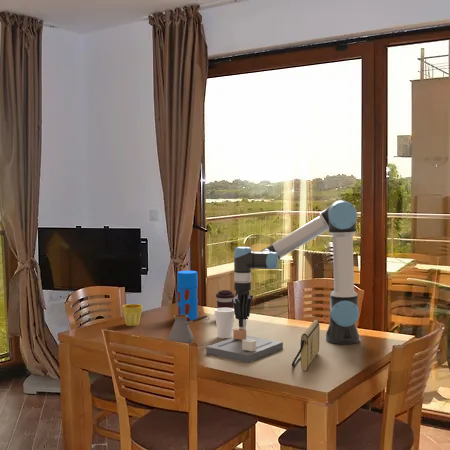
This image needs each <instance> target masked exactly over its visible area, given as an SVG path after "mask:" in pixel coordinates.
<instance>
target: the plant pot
mask: <svg viewBox="0 0 450 450" xmlns="http://www.w3.org/2000/svg"><path fill="white" fill-rule="evenodd" d="M143 307H144V306H143V304H140V303H128V304H123V305H122V307H121V309H122V311H121V313H122V314H123V318H124V321H125V326H127V327H128V326H129V327H135V326H139V325H140V320H141V315H142V313H143V310H144V309H143Z"/></svg>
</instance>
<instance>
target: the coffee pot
mask: <svg viewBox="0 0 450 450" xmlns="http://www.w3.org/2000/svg"><path fill="white" fill-rule="evenodd" d="M187 317H188V316H187V315H178V314H174V315H173V318H174V323H173V325H172V327H171V330H170V332H169V335H168V338H167V340H168V341H169V340H171V341H177V342H183V343H189V344H191V343H192V342H193V340H194V335H193V332H192V330H191V328H190V326H189V324H192V323H196V322H198V321H201V320H204V319H205V320H206V321H209V320H210V318H209V315H202V316H200V317H199V316H198V317H197V319H194V320H186V319H187ZM207 318H208V319H207Z"/></svg>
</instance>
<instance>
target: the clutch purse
mask: <svg viewBox="0 0 450 450" xmlns="http://www.w3.org/2000/svg"><path fill="white" fill-rule="evenodd" d="M320 331H321V330H320V321H319V320H318V319H317V318H316V319H314V320H313V321H312V323H311V324H310V325H309V326H308V327H307V328H306V330H305V331H304V333H302V334H301V336H300V349H299V350H298V352H297V354H296V356H295V357H294V358H293V360H292V364H291V367H296V365H297V364H298V363H299V362H300V367H301V370H302V372H306V371H307V370H308V369H309V366H310V365H311V363H312V361H313V360H314V359H315V357H316V356H317V354H318V353H319V351H320ZM299 356H300V357H299Z"/></svg>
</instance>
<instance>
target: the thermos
mask: <svg viewBox="0 0 450 450" xmlns="http://www.w3.org/2000/svg"><path fill="white" fill-rule="evenodd" d="M176 274H177V275H176V277H177V279H176V281H177V284H176V286H177V290H176V291H177V296H176V298H177V315H187V316H188V317H187V319H186V321H192V320H194V319H197V318H199V315H198V312H199V311H198V310H199V306H198V305H199V304H198V303H199V294H198V293H199V292H198V290H199V289H198V286H199V284H198V283H199V282H198V281H199V280H198V279H199V278H198V271H196V270H181V271H180V270H179V271H178V272H177V273H176Z"/></svg>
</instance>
